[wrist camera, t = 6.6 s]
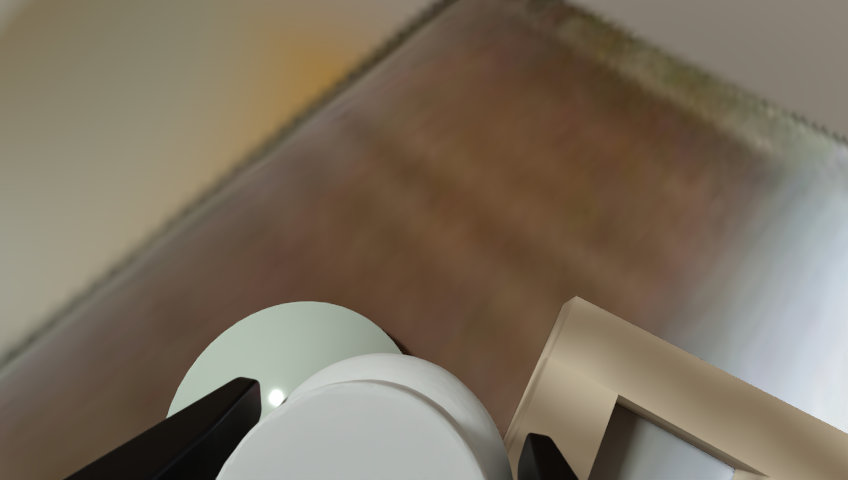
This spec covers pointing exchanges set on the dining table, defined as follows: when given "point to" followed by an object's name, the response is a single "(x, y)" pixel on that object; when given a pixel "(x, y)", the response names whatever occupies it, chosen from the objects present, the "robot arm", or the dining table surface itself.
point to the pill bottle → (374, 428)
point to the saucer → (281, 351)
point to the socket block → (663, 403)
